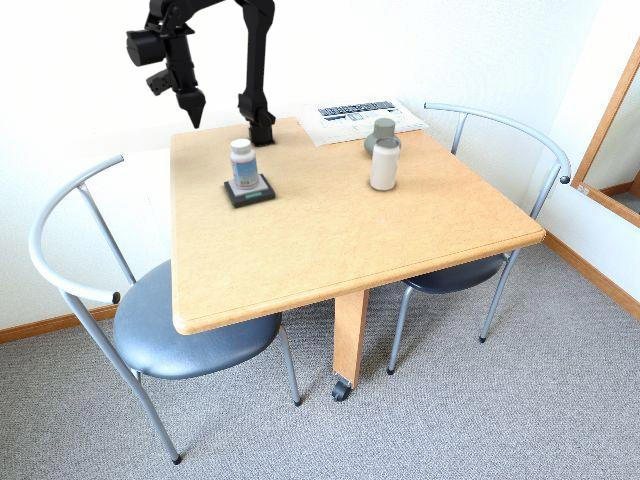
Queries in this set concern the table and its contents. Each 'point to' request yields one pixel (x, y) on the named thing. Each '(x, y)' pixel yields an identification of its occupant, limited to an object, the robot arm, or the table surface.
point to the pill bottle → (244, 164)
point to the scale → (249, 192)
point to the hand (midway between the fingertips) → (193, 121)
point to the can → (384, 164)
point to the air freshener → (381, 133)
